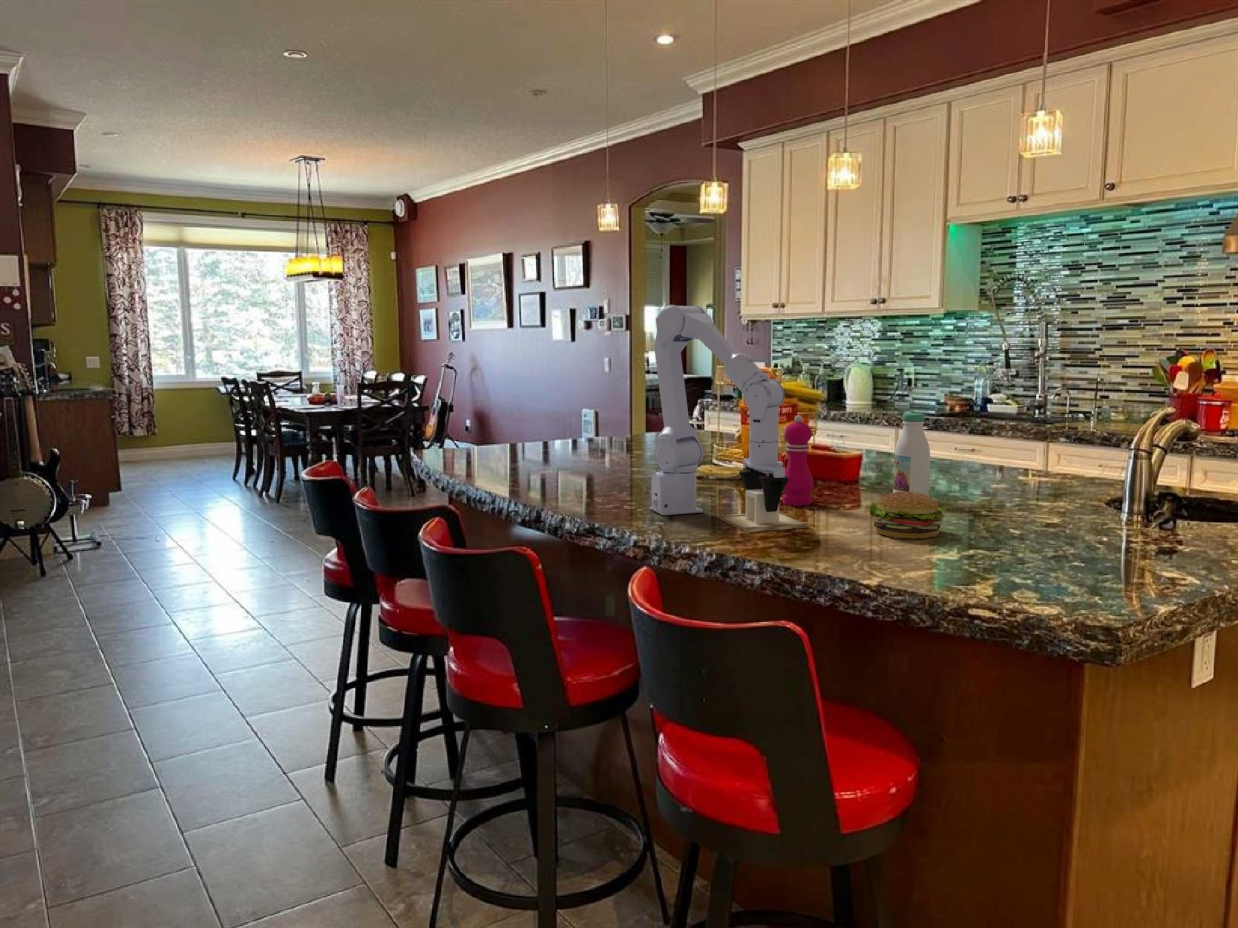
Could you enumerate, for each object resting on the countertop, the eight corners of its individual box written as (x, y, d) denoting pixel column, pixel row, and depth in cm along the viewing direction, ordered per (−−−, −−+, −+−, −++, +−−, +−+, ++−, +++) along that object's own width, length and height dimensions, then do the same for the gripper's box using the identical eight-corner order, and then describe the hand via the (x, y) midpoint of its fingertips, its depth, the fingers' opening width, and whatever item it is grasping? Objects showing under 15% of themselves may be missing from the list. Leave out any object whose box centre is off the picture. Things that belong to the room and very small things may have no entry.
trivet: (747, 532, 171) (747, 527, 171) (720, 519, 183) (720, 515, 183) (807, 527, 175) (807, 523, 175) (776, 515, 187) (776, 511, 187)
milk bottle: (923, 498, 204) (927, 412, 202) (932, 504, 197) (935, 415, 194) (889, 498, 205) (892, 412, 202) (896, 504, 198) (899, 415, 195)
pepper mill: (813, 506, 196) (815, 416, 193) (780, 506, 197) (781, 416, 195) (813, 500, 203) (814, 413, 200) (781, 500, 204) (782, 413, 202)
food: (951, 529, 172) (953, 489, 171) (936, 544, 160) (938, 501, 159) (880, 522, 179) (881, 484, 178) (861, 536, 167) (862, 494, 166)
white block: (778, 522, 177) (779, 492, 177) (756, 523, 176) (756, 494, 175) (767, 517, 182) (767, 488, 181) (745, 519, 181) (745, 490, 180)
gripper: (799, 444, 171) (798, 513, 173) (765, 436, 185) (764, 500, 187) (766, 445, 169) (765, 515, 171) (734, 437, 183) (733, 502, 185)
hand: (762, 508), depth 179 cm, fingers open, 7 cm apart
